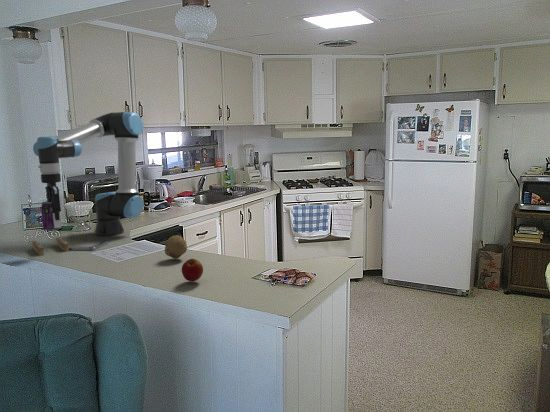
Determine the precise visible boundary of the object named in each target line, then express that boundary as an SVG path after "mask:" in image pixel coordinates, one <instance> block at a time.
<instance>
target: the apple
mask: <svg viewBox="0 0 550 412" xmlns="http://www.w3.org/2000/svg"><path fill="white" fill-rule="evenodd" d="M203 273H204V267H203V264H202V262H201V261H199V259H196V258H189V259H188V260H186V261H185V262H184V263H183V264H182V266H181V274H182V276H183V278H184V279H185V280H186V281H189V282H196V281H198V280H200V278H201V277H202V275H203Z"/></svg>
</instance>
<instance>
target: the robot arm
mask: <svg viewBox="0 0 550 412" xmlns="http://www.w3.org/2000/svg"><path fill="white" fill-rule="evenodd" d="M143 123H144V122H143V119H142V118H141V117H140V115H139V114H138V113H137V112H132V111H120V112H118V111H117V112H108V113H106V114H103V115H100V116H98V117H96V118H93V119H91V120H90V121H89V122H88V123H86V124H84V125H81V126H78V127H76V128H73V129H71V130H69V131H65V132H63V133H61V134H58V135H56V136H39V137H37V139H36V142H34V144H33V147H32V150H33V153H34V155H35V156H36V157H38V160H39V161H38V163H39V165H38V168H37V169H40V173H41V175H40V180H41V183H42V184H46V186H45V187H44V188H45V193H46V202H48V201H49V202H52V208H53V212H51V213H53V221H54V228H59V227H61V228H62V220H61V212H62V208H61V200H60V189H59V187H58V186H57V183H60V182H61V180H62V179H61V174H60V173H61V168H60V167H61V166H60V159H68V158H75V157H79V156H81V155H82V150H83V148H82V147H83V146H82V144H83V143H85V142H88V141H91V140H93V139H95V138H99V139H100V138H102V137H107V136H108V137H109V136H114V140H116V142H117V155H118V156H117V170H118V172H117V174H118V175H117V177H118V184H117V186H118V189H116V190H115V191H109V192H103V193H97V194H96V195H95V201H94V204H95V214H96V224H95V228H94V231H93V232H94V233H93V234H94V236H95V237H115V236H119V235H122V234H124V233H125V229H124V227H123V224H122V221H121V218H127V219H131V218H132V219H135V218H137V217H139V216H140V215H141V213H142V212H143V210H144V206H145V202H144V199H143V197H142V196H141V195H140V192H139V190H138V189H137V186H136V185H137V178H136V177H137V175H136V174H137V173H136V172H137V171H136V169H137V168H136V159H137V158H136V143H137V141H138V140H139V136H140V135H141V134H142V132H143V131H144V124H143ZM59 229H60V228H59Z"/></svg>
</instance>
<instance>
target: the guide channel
mask: <svg viewBox="0 0 550 412" xmlns="http://www.w3.org/2000/svg"><path fill="white" fill-rule="evenodd" d="M31 244H32V250H33V251H35V252H36V254H38V255H39V257H40V256H44V253H45V252H44V247H43V246H42V245H41V244H40V243H38V242H37V241H36V240H35V241H34V240H33V241H31ZM56 246H57V247H59V248H60V249H61V250H63V252H65V253H66V252H69V251H70V250H69V243H68V242H66V241H65V240H63V239H62V238H61V237H57V238H56Z"/></svg>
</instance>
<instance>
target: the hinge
mask: <svg viewBox="0 0 550 412" xmlns="http://www.w3.org/2000/svg"><path fill="white" fill-rule="evenodd" d="M107 245H108V241H107V240H102V241H100V242H98V243H96V244H93V245H91V246H81V245H80V246H74V245H72V246H69V245H68V246H69V251H89V252H91V251H92V252H93V251H96V250H97V249H100V248H103V247H104V246H107Z"/></svg>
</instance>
